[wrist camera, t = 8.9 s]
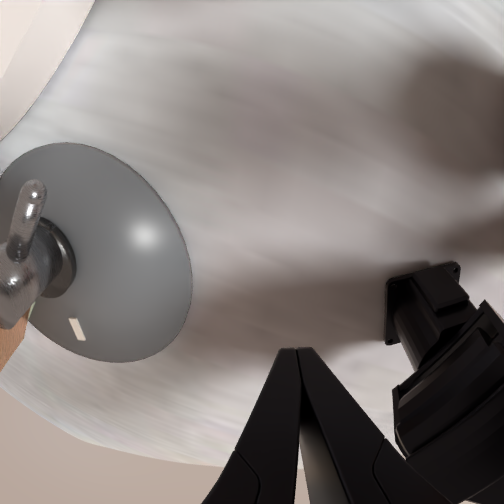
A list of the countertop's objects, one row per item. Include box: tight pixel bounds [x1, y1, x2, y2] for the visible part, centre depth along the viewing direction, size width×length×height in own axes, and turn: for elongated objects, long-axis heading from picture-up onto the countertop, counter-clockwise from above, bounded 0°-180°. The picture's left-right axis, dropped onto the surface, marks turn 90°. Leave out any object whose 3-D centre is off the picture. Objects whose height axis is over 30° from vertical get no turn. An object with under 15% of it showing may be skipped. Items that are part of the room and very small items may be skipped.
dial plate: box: [0, 142, 192, 363], centre depth 20 cm, size 19×20×1 cm
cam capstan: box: [0, 179, 77, 372], centre depth 15 cm, size 19×6×10 cm, turn 142°
